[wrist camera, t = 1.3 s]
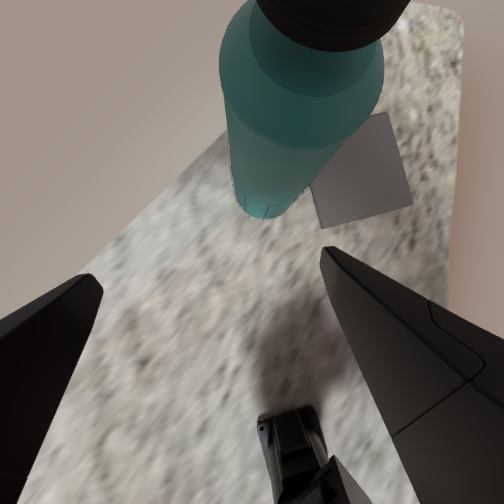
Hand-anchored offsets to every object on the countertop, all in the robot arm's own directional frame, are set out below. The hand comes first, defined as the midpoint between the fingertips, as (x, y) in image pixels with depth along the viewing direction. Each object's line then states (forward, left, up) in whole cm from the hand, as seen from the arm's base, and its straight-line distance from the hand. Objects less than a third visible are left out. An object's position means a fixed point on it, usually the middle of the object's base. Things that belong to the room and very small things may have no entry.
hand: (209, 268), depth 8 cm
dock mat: (+6, -16, -15) cm, 23 cm away
